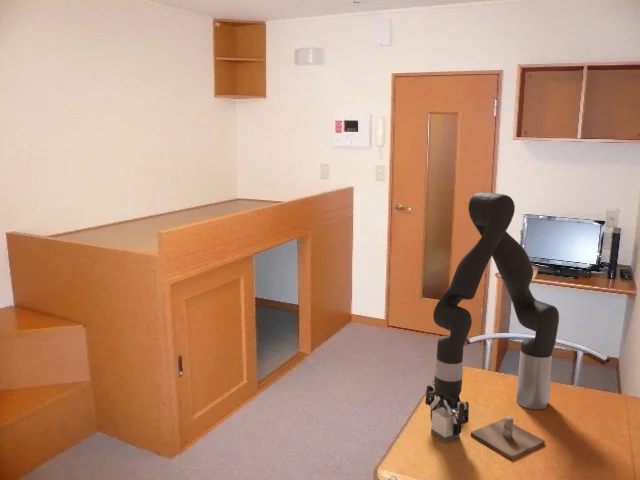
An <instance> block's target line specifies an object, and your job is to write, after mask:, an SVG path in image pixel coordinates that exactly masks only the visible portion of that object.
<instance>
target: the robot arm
mask: <svg viewBox="0 0 640 480" xmlns="http://www.w3.org/2000/svg"><path fill="white" fill-rule="evenodd" d="M515 207H516V206H515V202H514V200H513V198H512V197H511V196H509V195H508V194H504V193H503V194H502V193H496V192H495V193H494V192H487V191H486V192H477V193H475V194H473V195H472V196H471V198H470V199H469V202H468V215H469V218H470V219H471V221H472V224H473V225H474V226H475V228H476V230H477V232H478V233H479V235H480V238H479V240H478V241H477V243H476V244H474V245H473V247H472V248H471V249H470V250H469V251H468V252H466V254H465V255H464V256H463V258H461V260H460V261H459V263H458V265H457V267H456V269H455V272H454V274H453V276H452V279H451V281H450V285H449V286H448V288H447V289H446V290H445V291H444V294H443V295H442V297H440V299H439V300H438V302H437V303H436V305H435V307H434V309H433V314H432V315H433V316H432V317H433V321H434V323H435V325H436V326H438V327H440V328H443V329H445V330H447V331H450V334H449V335H444V336H441V337H439V338H438V340H437V347H436V357H435V358H436V360H435V363H434V364H435V365H434V377H433V378H434V380H433V384H432V383H431V384H430V385H427V386H426V391H425V392H426V393H425V405H426V406H427V405H428V406H429V409H430V414H429V415H430V417H429V418H430V421H431V422H432V411H433V410H436V409H438V407H439V406H440V407H442V408H444V409H445V410H447V411H448V412H449V415H450V416H452V418H453V421H454V423H453V435H455V436H456V435H459V434H461V433H462V425H465V424H467V423H469V415H470V414H469V413H470V412H469V411H470V410H469V408H470V404H469V401H462V400H461V398H460V394H461V393H462V388H463V377H464V376H463V374H464V363H463V362H464V361H463V360H464V359H463V358H464V347H465V344H466V341H467V339H468V336H469V333H470V330H471V327H472V324H473V323H472V321H473V320H472V319H473V318H472V315H471V313H470V311H469V310H468V309H466V308H465V307H462V306H459V304H460V303H461V302H462V301H464V300H467V301H468V300H471V301H472V300H474V299H475V298H474V297H475V296H476V293H477V290H478V288H479V286H480V283H481V281H482V276H483V275H484V272H485V270H486V268H487V265H488V264H489V261H490V259H491V258H492V259H493V261H494V263H495V266H496V269H497V271H498V273H499V275H500V277H501V280H503V281H502V282H504V285H505V287H506V290H507V292H508V294H509V297H510V299H511V303H512V305H513V309H514V311H515V315H516V318H517V320H518V322H519V324H520V325H521V326H523V327H524V328H525V329H528V330H531V331H533V332H535V336H534V337H531V338H530V337H529V338H525V339H523V340H522V341H521V344H520V353H519V362H518V363H519V364H518V375H517V377H518V378H517V386H516V387H517V388H516V399H515V401H516V403H517V404H518V405H520V406H521V407H523V408H525V409H526V408H527V409H530V410H544V409H546V408H547V406H548V404H549V402H550V393H551V384H552V374H551V369H552V360H553V359H552V358H553V352H554V351H553V350H554V348H555V346H556V342H557V341H556V340H557V335H558V330H559V323H560V314H559V310H558V309H557V307H556V306H555V305H552V304H549V303H547V302H542V301H539V300H537V299H536V298H535V297H534V295H533V293H532V291H531V290H530V284H531V282H532V280H533V278H534V277H533V276H534V268H533V265H532V262H531V259H530V257H529V256H528V253H527V252H526V250H525V249H524V247H523V246H522V245H521V244H520V243H519V242H518V241H517V240H516V239H515V238H513V236H512V235H510V234H509V233H508V232H507V230H508V228H509V226H510V225H511V222H512V220H513V217H514V214H515ZM455 408H456V411H455V412H453V411H452V410H453V409H455ZM456 414H457V416H458V419H457V417H456Z"/></svg>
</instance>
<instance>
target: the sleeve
mask: <svg viewBox="0 0 640 480" xmlns="http://www.w3.org/2000/svg"><path fill="white" fill-rule="evenodd" d="M437 408H438V407H437ZM452 411H453V412H455V410H452ZM456 417H457V419H458V416H457V414H456ZM453 423H454V421H453V418H452V416H450V415H449V412H448V411H447V410H445V409H444V408H442V407H441V408H438V409H436V410H433V411H432V421H431V423H430V424H431V427H430V434H431V435H433V436H435V438H438V439H439V440H441V441H442V442H444V443H448V442H450V441H452V440H455V439H457V438H460V434H461V433H460V434H459V435H456V436H455V435H453Z"/></svg>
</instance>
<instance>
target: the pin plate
mask: <svg viewBox="0 0 640 480" xmlns="http://www.w3.org/2000/svg"><path fill="white" fill-rule="evenodd" d="M470 437H473V438H474V439H475V440H477V441H479V442H481V443H482V444H484V445H486V446H487V447H489V448H491V449H492V450H494V451H496V452H497V453H498V454H501V455H502V456H504V458H507V459H508V460H511V461H513V460H514V459H517V458H519V457H521V456H523V455H525V454H527V453H529V452H531V451H534V450H535V449H536V450H537V449H538V448H540V447H542V446H544V445H545V444H546V440H544V439H542V438H540V437H538V436H537V435H535V434H533V433H531V432H530V431H527V430H526V429H523V428H522V427H520V426H518V425H517V424H515V423H514V418H513V417H512V416H509V415H508V416H507V415H506V416H504V418H503V419H499V420H497V421H495V422H493V423H489V424H487V425H484V426H483V427H480V428H478V429H475V430H473V431H470Z"/></svg>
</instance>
